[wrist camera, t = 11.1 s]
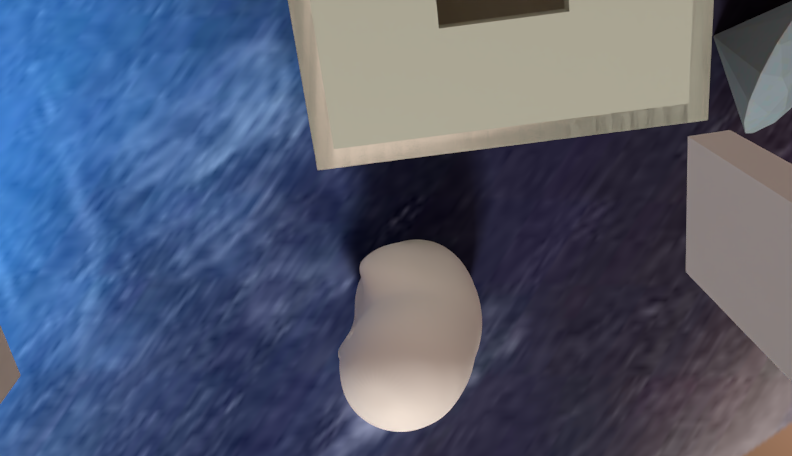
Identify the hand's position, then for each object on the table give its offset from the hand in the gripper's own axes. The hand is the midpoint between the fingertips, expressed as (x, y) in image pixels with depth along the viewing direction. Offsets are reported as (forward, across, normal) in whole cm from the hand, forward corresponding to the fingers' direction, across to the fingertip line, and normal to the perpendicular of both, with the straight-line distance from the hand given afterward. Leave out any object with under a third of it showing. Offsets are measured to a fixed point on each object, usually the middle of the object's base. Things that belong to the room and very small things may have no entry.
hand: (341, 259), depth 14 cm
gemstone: (+26, +22, -4) cm, 34 cm away
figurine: (+27, +1, -14) cm, 30 cm away
